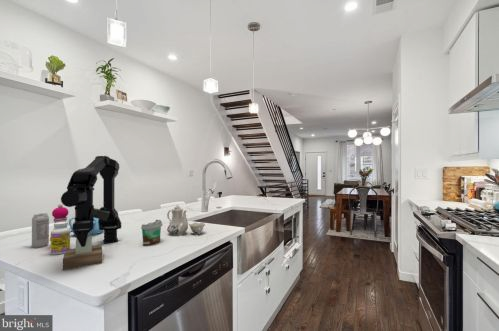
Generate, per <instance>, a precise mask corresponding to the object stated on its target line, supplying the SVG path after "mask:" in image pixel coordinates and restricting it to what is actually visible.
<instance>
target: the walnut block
mask: <svg viewBox="0 0 499 331" xmlns="http://www.w3.org/2000/svg"><path fill="white" fill-rule="evenodd" d="M100 264H103V245H102V244H97V245H92V252H86V253H80V254H76V247H75V248H70V249H67V250H66V252H65V253H64V254H63V257H62V271H66V270H73V269H78V268H82V267H90V266H95V265H100Z"/></svg>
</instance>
